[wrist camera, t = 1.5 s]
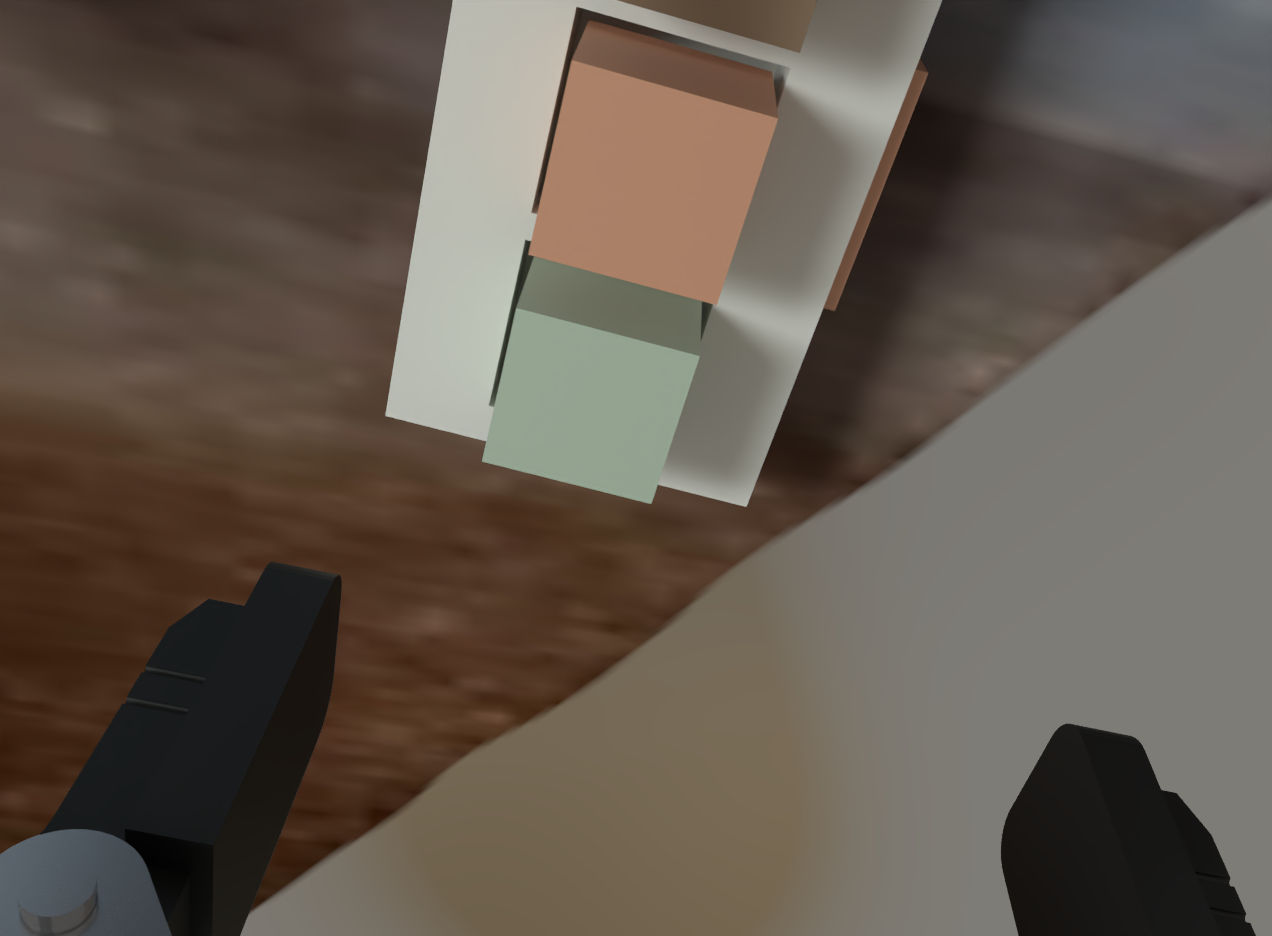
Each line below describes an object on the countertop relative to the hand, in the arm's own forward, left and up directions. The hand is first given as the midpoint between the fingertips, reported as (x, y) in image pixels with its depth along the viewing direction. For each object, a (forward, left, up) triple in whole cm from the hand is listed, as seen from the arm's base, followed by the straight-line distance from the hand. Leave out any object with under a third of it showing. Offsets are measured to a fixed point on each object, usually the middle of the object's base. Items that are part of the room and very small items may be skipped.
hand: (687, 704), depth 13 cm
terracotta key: (-1, +1, -17) cm, 17 cm away
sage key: (-1, -5, -17) cm, 18 cm away
